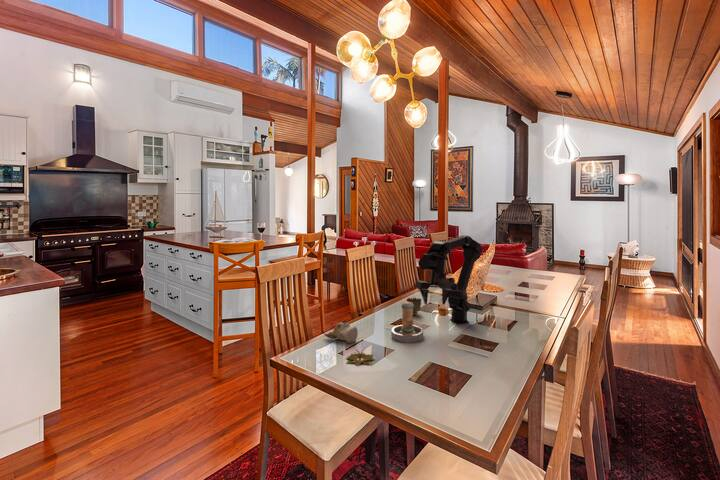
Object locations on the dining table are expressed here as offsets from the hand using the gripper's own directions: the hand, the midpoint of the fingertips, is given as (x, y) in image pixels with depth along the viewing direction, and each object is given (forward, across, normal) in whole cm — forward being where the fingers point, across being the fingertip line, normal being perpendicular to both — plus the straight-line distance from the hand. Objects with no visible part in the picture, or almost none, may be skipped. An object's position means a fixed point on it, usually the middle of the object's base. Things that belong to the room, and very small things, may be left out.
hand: (434, 304), depth 171 cm
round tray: (+14, -13, -1) cm, 19 cm away
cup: (+11, +4, +25) cm, 27 cm away
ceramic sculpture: (+18, -39, +7) cm, 43 cm away
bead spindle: (+13, -13, -1) cm, 18 cm away
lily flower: (+19, -39, -14) cm, 46 cm away
